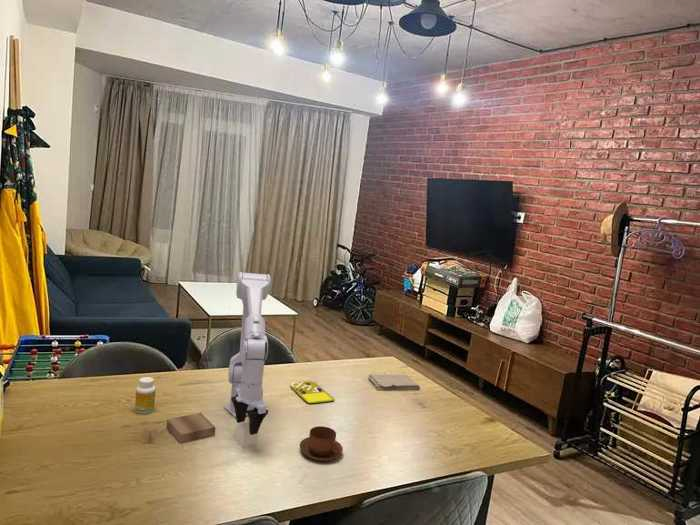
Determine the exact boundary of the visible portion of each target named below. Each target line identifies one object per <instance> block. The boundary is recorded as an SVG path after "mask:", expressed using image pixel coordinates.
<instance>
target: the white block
mask: <svg viewBox="0 0 700 525" xmlns="http://www.w3.org/2000/svg"><path fill="white" fill-rule="evenodd" d="M234 434H235V435H234V441H235V443H236V444H238V445H239V446H240V447H241V448H242V449H243V448H246V447H250V446H255V445H257V444H258V443H257V440H258V433H257V434H253V435H251V434H250V432H249V420H248V421H244V422H240V423H236V425H235V433H234Z"/></svg>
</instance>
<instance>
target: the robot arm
mask: <svg viewBox="0 0 700 525" xmlns="http://www.w3.org/2000/svg"><path fill="white" fill-rule="evenodd" d="M271 282H272V278H271V276H270V274H269V273H252V272H242V271H239V273H237V277H236V290H235V291H236V292H235V296H236V298H237V299H239V300H241V302H242V318H241V331H240V345H239V352H238V353H236V354H234V355H233V356H231V358H230V360H229V365H228V374H227V375H228V377H227V378H228V379H227V380H228V383H229V384H231V390H230V391H231V392H230V402H229V405H225V406H223V408H224V409H225V410H226V411H227V412H228V413H229V414H230V415H232V416H233V417H234V418H235V420H236V422H237V423H236V424H239V423H243V422H246V418H247V417H248V421H249V432H250V434H251V435H253V434H257V435H258V433H259V431H260V428H261V425H262V423H263V422H264V420H265V418H266V416H267V415H268V414H269V410H268V409H267V408H268V407H267V405H266V404H265V402H264V399H263V397H264V396H263V395H264V391H263V390H264V389H263V380H264V379H263V378H264V371H265V370H264V369H265V361H266V360H267V358H268V354H269V342H268V338H267V335H266V320H265V318H264V317H263V316H262V307H263V306H262V305H263V301H264V300H266V299H267V297H268V296H269V294H270V291H271V284H272V283H271Z"/></svg>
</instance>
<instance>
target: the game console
mask: <svg viewBox="0 0 700 525" xmlns="http://www.w3.org/2000/svg"><path fill="white" fill-rule="evenodd" d="M289 386H290V387H289V388H290V390H292V391H293V393H295V394H296V395H297V396H298V397H299V398H300V399H301V400H302V401H303V402H304V403H305V404H306V405H310V406H312V405H321V404H329V403H334V402H335V398H334V397H333V396H332V395H331V394H329V393H328V392H327V391H326V390H325V389H324V388H322V386H320V385H319V384H318V383H317V382H316V381H313V380H312V381H311V380H309V381H294V382H292V383H290V385H289Z"/></svg>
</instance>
